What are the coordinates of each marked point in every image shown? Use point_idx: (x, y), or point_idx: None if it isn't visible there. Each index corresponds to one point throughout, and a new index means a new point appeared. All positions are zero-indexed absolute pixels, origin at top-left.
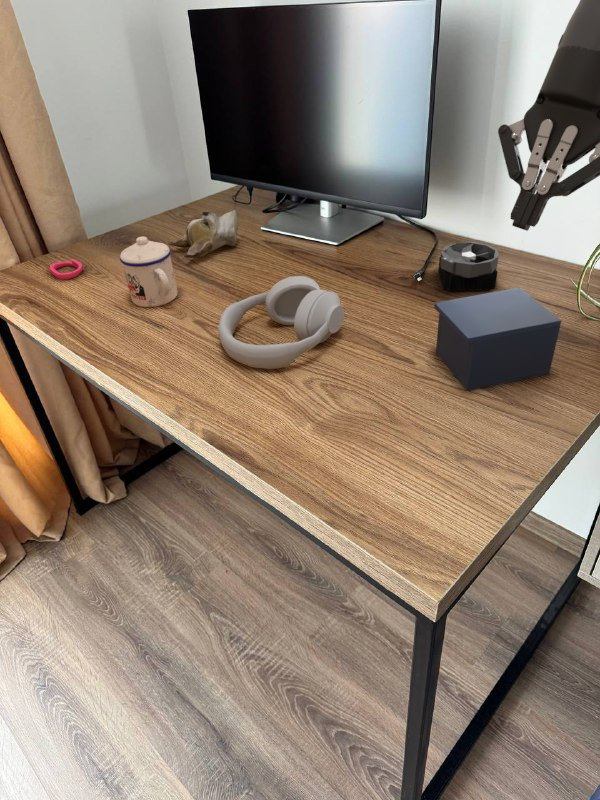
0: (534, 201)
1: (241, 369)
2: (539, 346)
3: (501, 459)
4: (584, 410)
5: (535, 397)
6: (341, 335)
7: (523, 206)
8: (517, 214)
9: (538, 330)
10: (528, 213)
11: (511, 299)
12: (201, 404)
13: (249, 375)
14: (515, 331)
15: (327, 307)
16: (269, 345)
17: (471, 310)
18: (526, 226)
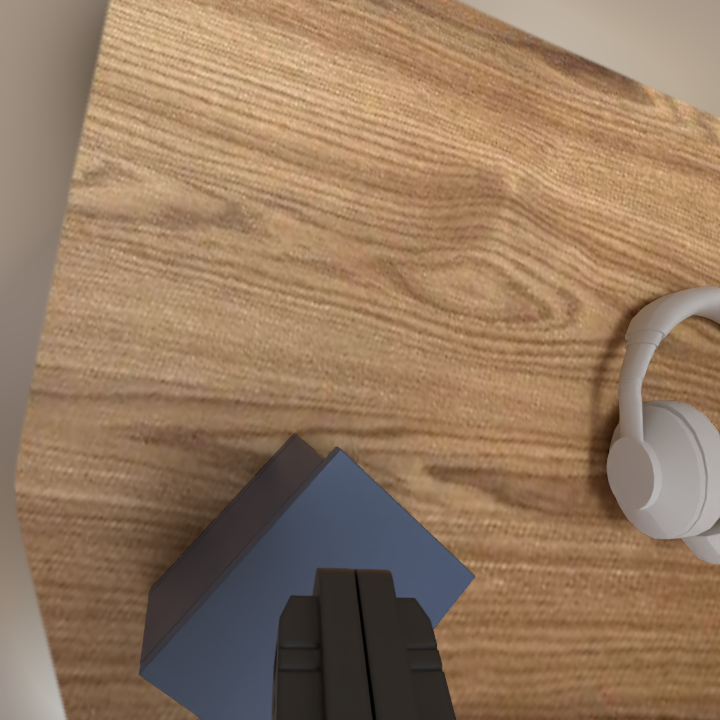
0: (338, 704)
1: (687, 288)
2: (180, 594)
3: (155, 244)
4: (33, 494)
5: (152, 485)
6: (591, 489)
7: (387, 658)
8: (392, 608)
9: (190, 607)
10: (336, 628)
11: None
12: (689, 163)
13: (667, 277)
14: (242, 554)
15: (669, 468)
16: (692, 306)
17: None
18: (315, 589)
